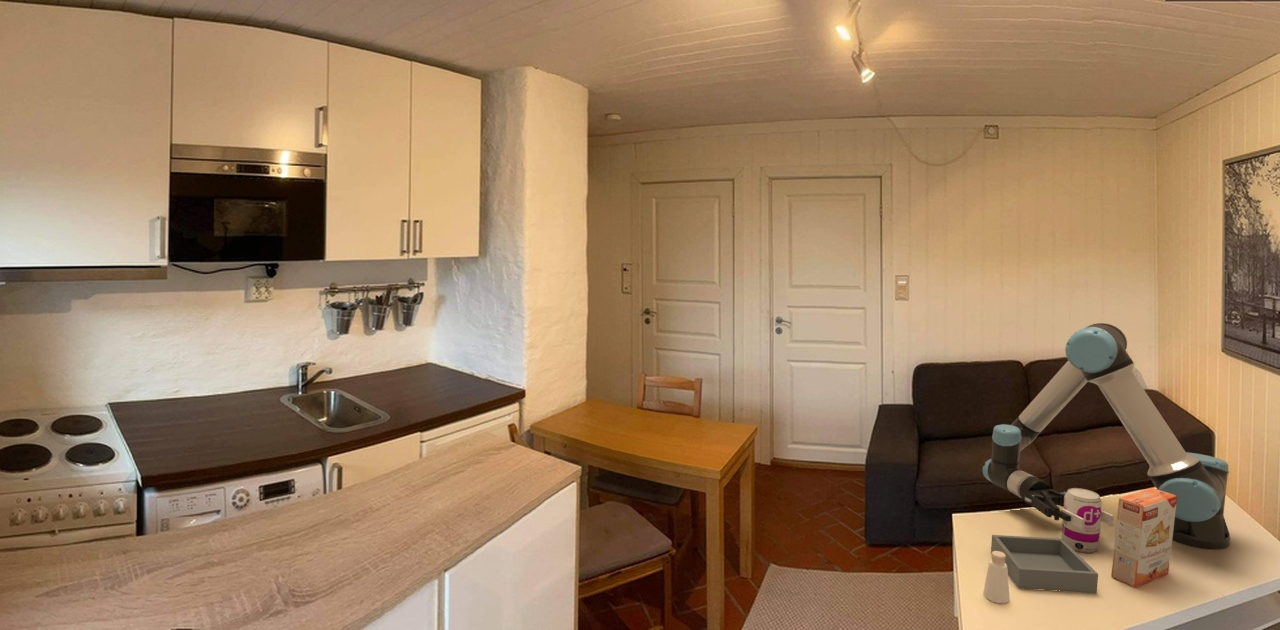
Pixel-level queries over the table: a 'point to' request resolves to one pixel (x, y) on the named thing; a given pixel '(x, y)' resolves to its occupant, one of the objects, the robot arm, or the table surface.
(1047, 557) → the grey square tray
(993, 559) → the pepper shaker
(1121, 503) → the cracker box
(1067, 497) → the supplement can
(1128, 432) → the robot arm
